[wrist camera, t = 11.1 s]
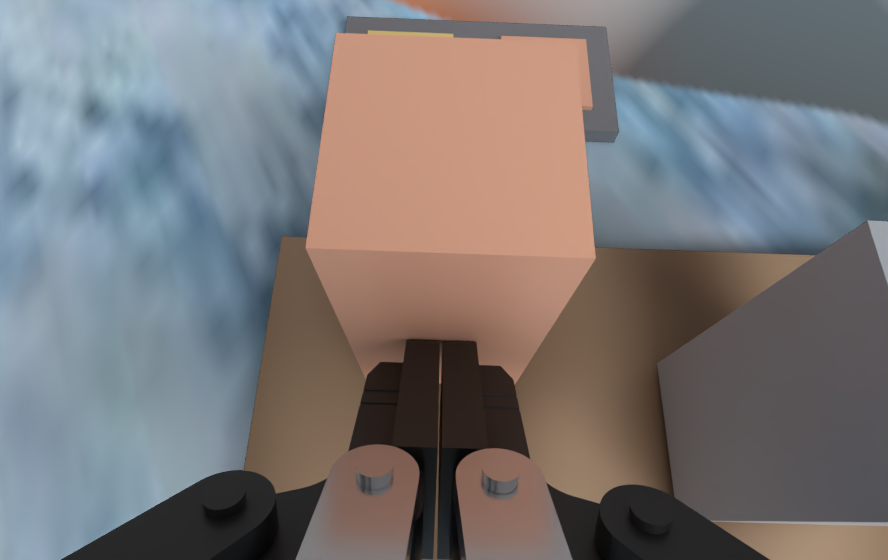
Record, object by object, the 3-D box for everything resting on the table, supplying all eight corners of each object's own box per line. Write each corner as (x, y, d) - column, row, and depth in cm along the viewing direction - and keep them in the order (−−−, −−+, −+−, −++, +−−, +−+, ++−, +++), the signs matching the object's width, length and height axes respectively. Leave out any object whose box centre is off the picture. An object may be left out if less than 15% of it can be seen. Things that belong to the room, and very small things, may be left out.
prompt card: (336, 131, 20) (332, 116, 19) (349, 29, 22) (346, 12, 21) (613, 142, 20) (620, 127, 19) (601, 39, 22) (607, 22, 21)
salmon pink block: (366, 380, 15) (305, 247, 8) (377, 248, 16) (336, 32, 9) (514, 386, 15) (595, 258, 8) (510, 253, 17) (576, 41, 9)
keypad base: (228, 640, 14) (214, 648, 13) (289, 250, 18) (281, 236, 17) (1147, 664, 14) (1198, 674, 13) (991, 275, 18) (1021, 262, 17)
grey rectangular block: (677, 520, 14) (963, 523, 6) (657, 363, 15) (866, 220, 8) (836, 525, 14) (1303, 533, 6) (800, 367, 15) (1140, 230, 8)
